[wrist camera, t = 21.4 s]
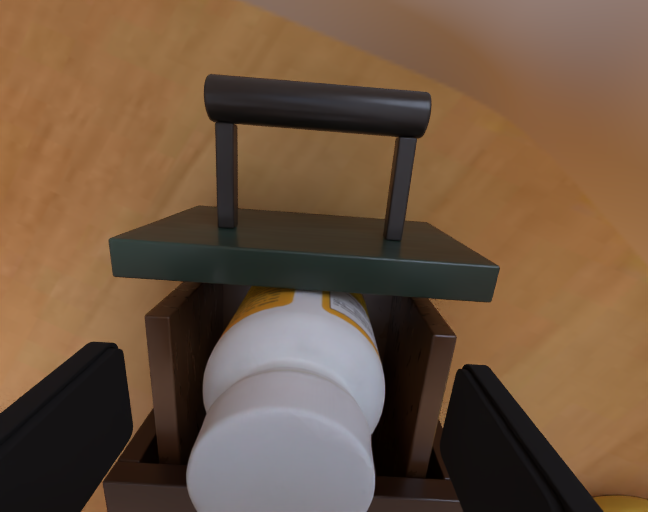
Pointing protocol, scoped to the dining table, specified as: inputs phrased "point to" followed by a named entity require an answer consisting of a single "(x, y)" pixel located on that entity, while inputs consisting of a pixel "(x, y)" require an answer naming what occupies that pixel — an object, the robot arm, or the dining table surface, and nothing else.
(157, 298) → the dining table surface
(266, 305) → the supplement bottle
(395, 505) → the cabinet
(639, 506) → the teapot
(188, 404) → the drawer
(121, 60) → the dining table surface
